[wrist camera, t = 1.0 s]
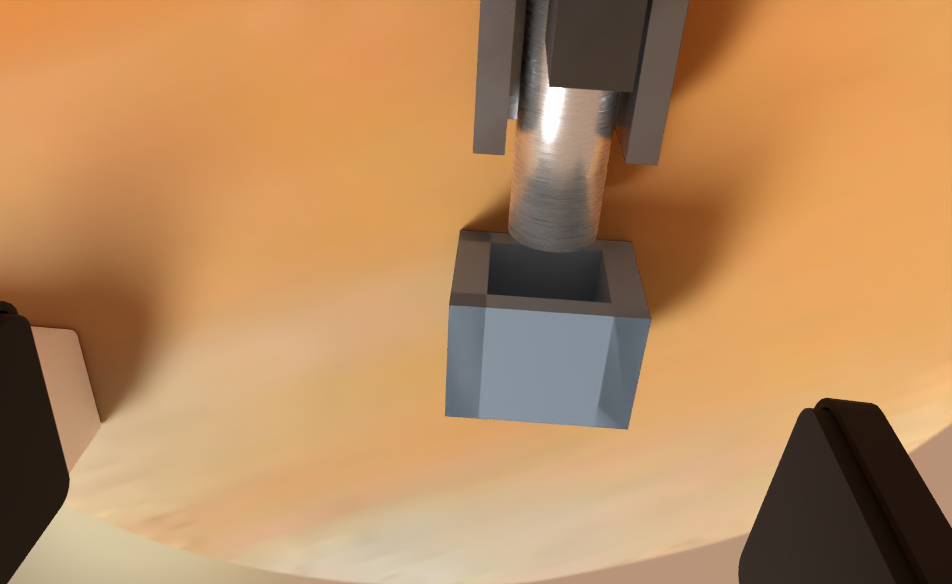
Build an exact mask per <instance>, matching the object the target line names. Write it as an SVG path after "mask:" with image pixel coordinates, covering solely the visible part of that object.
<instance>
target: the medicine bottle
mask: <svg viewBox="0 0 952 584" xmlns="http://www.w3.org/2000/svg"><path fill="white" fill-rule="evenodd" d="M31 329H32V333H33V337H34V341H35V345H36V348H37V352H38V356H39V360H40V364H41V368H42V372H43V376H44V379H45V383H46V387H47V391H48V395H49V399H50V403H51V407H52V410H53V414H54V418H55V422H56V426H57V430H58V434H59V438H60V441H61V445H62V449H63V453H64V457H65V461H66V465H67V469H68V473H70V471H71V470H72V469H73V467H74V466H75V464H76V463H77V461H78V460H79V458H80V457H81V455H82V454H83V452H84V451H85V449H86V448H87V446H88V445H89V444H90V442H91V441H92V439H93V438H94V436H95V435H96V433H97V432H98V430H99V429H100V426H101V422H100V419H99V415H98V411H97V407H96V404H95V400H94V396H93V392H92V389H91V385H90V381H89V377H88V373H87V370H86V366H85V362H84V358H83V355H82V351H81V347H80V343H79V339H78V336H77V334H76V332H75V331H73V330H69V329H57V328H46V327H35V326H31Z"/></svg>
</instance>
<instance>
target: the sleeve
mask: <svg viewBox="0 0 952 584" xmlns="http://www.w3.org/2000/svg"><path fill="white" fill-rule="evenodd" d="M526 2H527V0H481V3H480V23H479V43H478V62H477V82H476V102H475V122H474V141H473V153H478V154H493V155H504V154H505V141H506V127H507V119H515V120H517V112H518V100H519V87H520V75H521V63H522V51H523V39H524V26H525V14H526ZM688 3H689V0H648V2H647V8H646V14H645V20H644V26H643V32H642V38H641V44H640V50H639V57H638V63H637V69H636V75H635V81H634V87H633V92H619V96H618V103H617V109H616V116H615V122H614V126H615V128H616V132H617V135H618V139H619V142H620V146H621V149H622V153H623V156H624V160H625V163H627V164H642V165H658V159H659V154H660V149H661V144H662V139H663V133H664V128H665V123H666V118H667V113H668V107H669V102H670V97H671V92H672V87H673V81H674V76H675V71H676V66H677V60H678V55H679V50H680V45H681V40H682V34H683V29H684V24H685V19H686V14H687V8H688Z"/></svg>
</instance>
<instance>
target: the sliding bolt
mask: <svg viewBox="0 0 952 584" xmlns="http://www.w3.org/2000/svg"><path fill="white" fill-rule="evenodd" d="M647 2H648V0H527V2H526V14H525V26H524V39H523V51H522V63H521V75H520V87H519V100H518V112H517V124H516V136H515V149H514V161H513V173H512V185H511V197H510V210H509V222H508V230H509V233H510V235H511V236H512V237H513V238H514V239H515V240H517V241H518V242H520V243H521V244H523V245H525V246H528V247H530V248H534V249H537V250H541V251H547V252H573V251H578V250H582V249H584V248H587V247H589V246H590V245H592V244H593V243H594V242H595V240H596V238H597V232H598V226H599V219H600V213H601V206H602V200H603V193H604V187H605V180H606V174H607V167H608V161H609V154H610V148H611V141H612V135H613V129H614V122H615V116H616V109H617V103H618V96H619V92H633V87H634V81H635V75H636V69H637V63H638V57H639V50H640V44H641V38H642V32H643V26H644V20H645V14H646V8H647Z"/></svg>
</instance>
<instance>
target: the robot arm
mask: <svg viewBox="0 0 952 584" xmlns="http://www.w3.org/2000/svg"><path fill="white" fill-rule="evenodd" d="M69 481H70V479H69V473H68V469H67V465H66V461H65V457H64V453H63V449H62V445H61V441H60V438H59V434H58V430H57V426H56V422H55V418H54V414H53V410H52V407H51V403H50V399H49V395H48V391H47V387H46V383H45V379H44V376H43V372H42V368H41V364H40V360H39V356H38V352H37V348H36V345H35V341H34V337H33V333H32V329H31V326H30V323H29V321H28V320H27V319H26V318H25V317H23V316H20V315H19V314H18V312H17V310H16V308H15V307H14V306H13V305H12V304H10V303H8V302H5V301H0V584H7V583H8V582H9V580H10V579H11V577H12V576H13V575H14V573H15V572H16V570H17V569H18V567H19V566H20V565H21V563H22V562H23V561H24V559H25V557H26V556H27V555H28V553H29V552H30V551H31V549H32V548H33V546H34V545H35V543H36V542H37V541H38V539H39V538H40V536H41V535H42V534H43V532H44V531H45V529H46V528H47V526H48V525H49V524H50V522H51V521H52V519H53V518H54V516H55V515H56V514H57V512H58V511H59V509H60V508H61V506H62V505H63V503H64V501H65V499H66V496H67V493H68V489H69ZM738 575H739V584H952V528H951V526H950V524H949V523H948V521H947V519H946V518H945V516H944V514H943V513H942V511H941V509H940V508H939V506H938V504H937V503H936V501H935V499H934V498H933V496H932V494H931V493H930V491H929V489H928V488H927V486H926V484H925V482H924V481H923V479H922V477H921V476H920V474H919V473H918V471H917V469H916V468H915V466H914V464H913V462H912V461H911V459H910V457H909V456H908V454H907V452H906V451H905V449H904V447H903V446H902V444H901V442H900V440H899V439H898V437H897V435H896V434H895V432H894V430H893V429H892V427H891V425H890V424H889V422H888V420H887V419H886V417H885V415H884V414H883V412H882V411H881V409H880V408H879V407H878V406H877V405H875V404H872V403H866V402H857V401H849V400H840V399H832V398H824V399H821V400H820V401H819V402H818V403H817V404H816V406H815V408H814V409H813V408H806V409H804V410H803V411H802V412H801V413H800V415H799V417H798V419H797V421H796V424H795V426H794V428H793V431H792V433H791V436H790V438H789V441H788V443H787V445H786V448H785V450H784V453H783V455H782V457H781V460H780V462H779V465H778V467H777V470H776V472H775V474H774V477H773V479H772V482H771V484H770V486H769V489H768V491H767V494H766V496H765V498H764V501H763V503H762V506H761V508H760V511H759V513H758V515H757V518H756V520H755V523H754V525H753V527H752V530H751V532H750V535H749V537H748V540H747V542H746V544H745V547H744V550H743V552H742V554H741V557H740V561H739V573H738Z"/></svg>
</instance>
